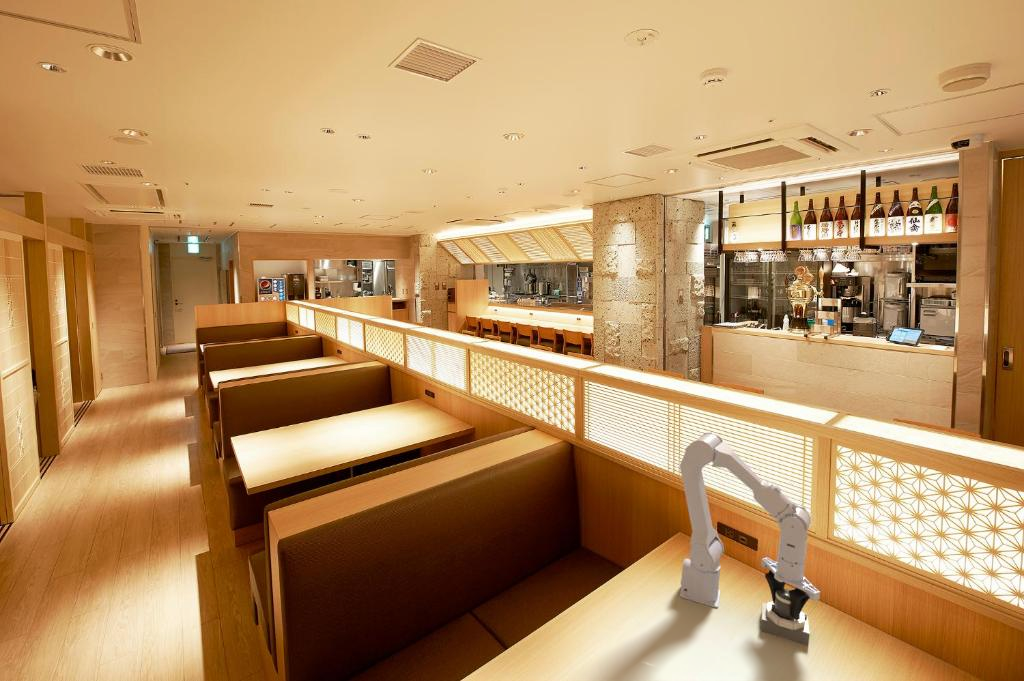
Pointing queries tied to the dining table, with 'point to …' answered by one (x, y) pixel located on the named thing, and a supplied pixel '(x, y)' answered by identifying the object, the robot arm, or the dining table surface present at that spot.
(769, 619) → the octagonal ring base
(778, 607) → the lens
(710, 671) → the dining table surface
